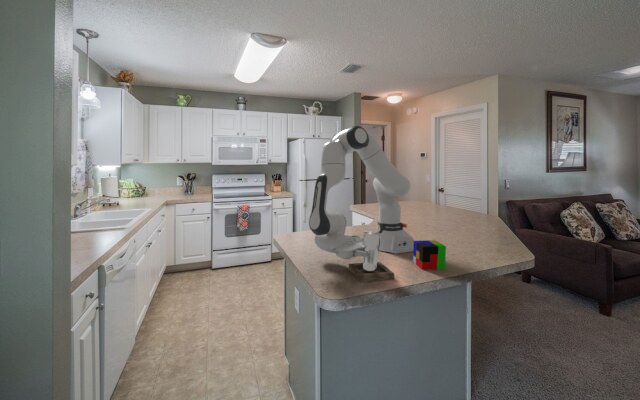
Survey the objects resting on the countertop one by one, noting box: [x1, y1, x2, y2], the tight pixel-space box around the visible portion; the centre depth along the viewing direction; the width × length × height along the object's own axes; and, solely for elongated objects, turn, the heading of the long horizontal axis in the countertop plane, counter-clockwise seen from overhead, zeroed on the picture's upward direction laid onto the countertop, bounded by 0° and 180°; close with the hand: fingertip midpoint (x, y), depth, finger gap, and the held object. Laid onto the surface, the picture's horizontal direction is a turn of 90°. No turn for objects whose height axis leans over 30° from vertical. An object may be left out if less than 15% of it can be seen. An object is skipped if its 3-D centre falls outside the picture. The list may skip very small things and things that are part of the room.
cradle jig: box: [348, 261, 395, 283], centre depth 123 cm, size 14×14×2 cm
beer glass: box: [362, 230, 380, 272], centre depth 122 cm, size 7×7×15 cm
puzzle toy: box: [412, 239, 447, 271], centre depth 133 cm, size 10×10×10 cm
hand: (372, 252), depth 122 cm, fingers closed on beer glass, 6 cm apart
